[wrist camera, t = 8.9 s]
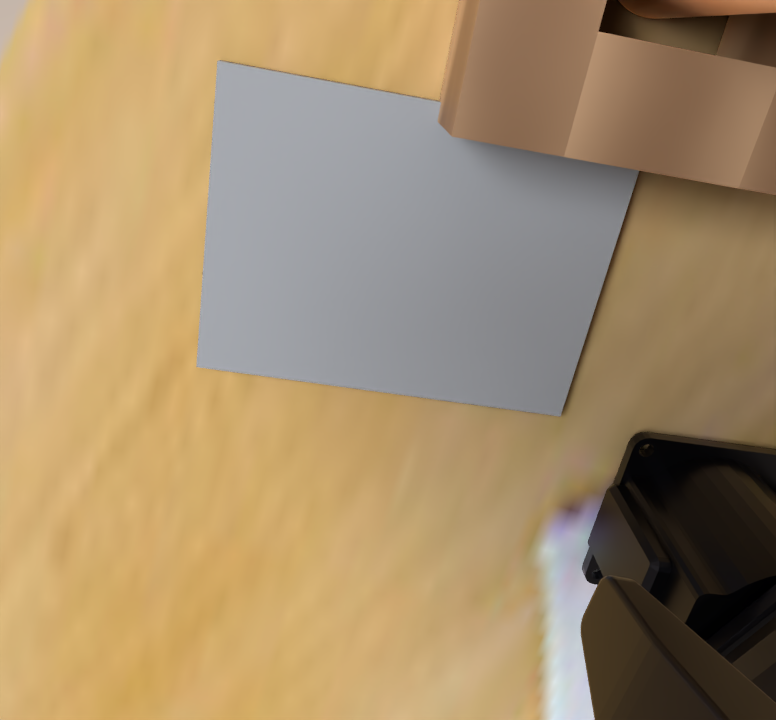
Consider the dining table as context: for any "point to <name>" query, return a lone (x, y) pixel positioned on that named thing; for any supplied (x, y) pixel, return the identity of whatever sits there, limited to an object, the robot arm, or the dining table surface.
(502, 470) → the dining table surface
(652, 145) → the hole block
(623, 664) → the robot arm
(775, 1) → the peg
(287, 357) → the mat
